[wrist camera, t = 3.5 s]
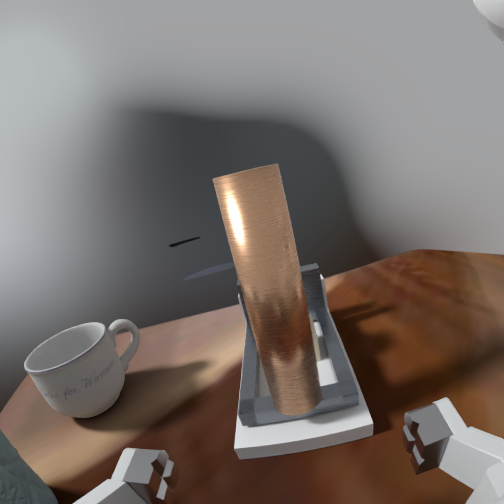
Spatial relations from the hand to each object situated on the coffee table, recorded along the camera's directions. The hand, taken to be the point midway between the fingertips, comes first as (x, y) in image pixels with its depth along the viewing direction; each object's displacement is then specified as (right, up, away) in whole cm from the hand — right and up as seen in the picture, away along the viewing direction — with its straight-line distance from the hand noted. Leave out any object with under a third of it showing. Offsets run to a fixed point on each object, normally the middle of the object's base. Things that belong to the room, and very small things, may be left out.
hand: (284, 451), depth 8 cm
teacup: (-18, -10, +21) cm, 29 cm away
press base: (+3, -5, +20) cm, 21 cm away
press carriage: (+3, -4, +19) cm, 19 cm away
